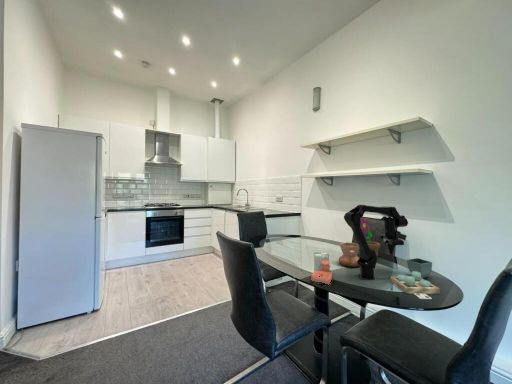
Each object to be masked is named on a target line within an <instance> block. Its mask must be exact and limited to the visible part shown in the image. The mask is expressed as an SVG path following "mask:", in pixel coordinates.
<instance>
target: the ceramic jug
mask: <svg viewBox="0 0 512 384" xmlns="http://www.w3.org/2000/svg"><path fill="white" fill-rule="evenodd" d="M339 245H340V250H341V253H342V255H341V256H339V257H338V263H339V264H341V265H343V266H345V267H351V268H354V267H356V268H357V267H360V265H358V263H357V261H358V259H359V258H360V257H359V256H357V255H358V254H359V253H358V252H359V250H360V247H359V245H358V243H354V242H349V241H347V242H341V243H340V244H339Z"/></svg>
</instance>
